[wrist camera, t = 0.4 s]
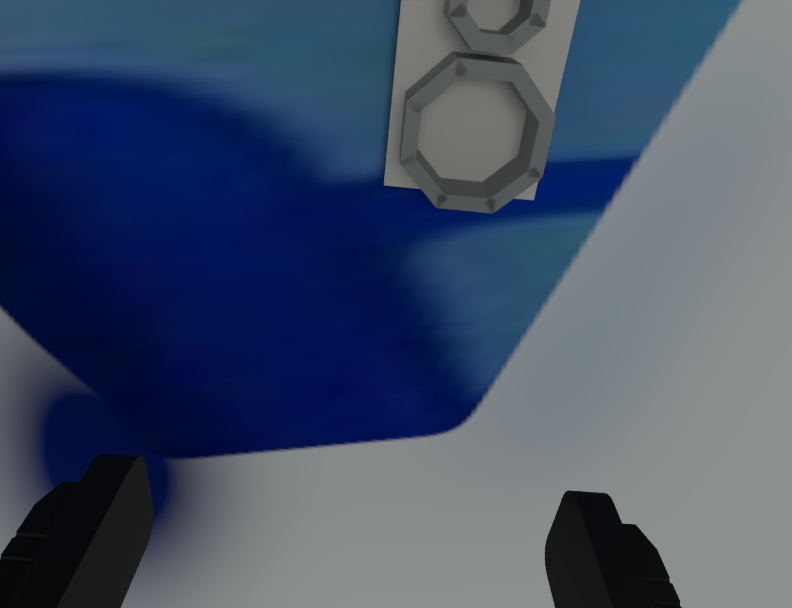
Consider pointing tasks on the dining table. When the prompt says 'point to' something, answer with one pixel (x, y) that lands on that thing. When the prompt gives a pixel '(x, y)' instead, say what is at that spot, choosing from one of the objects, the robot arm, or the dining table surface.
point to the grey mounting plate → (476, 98)
